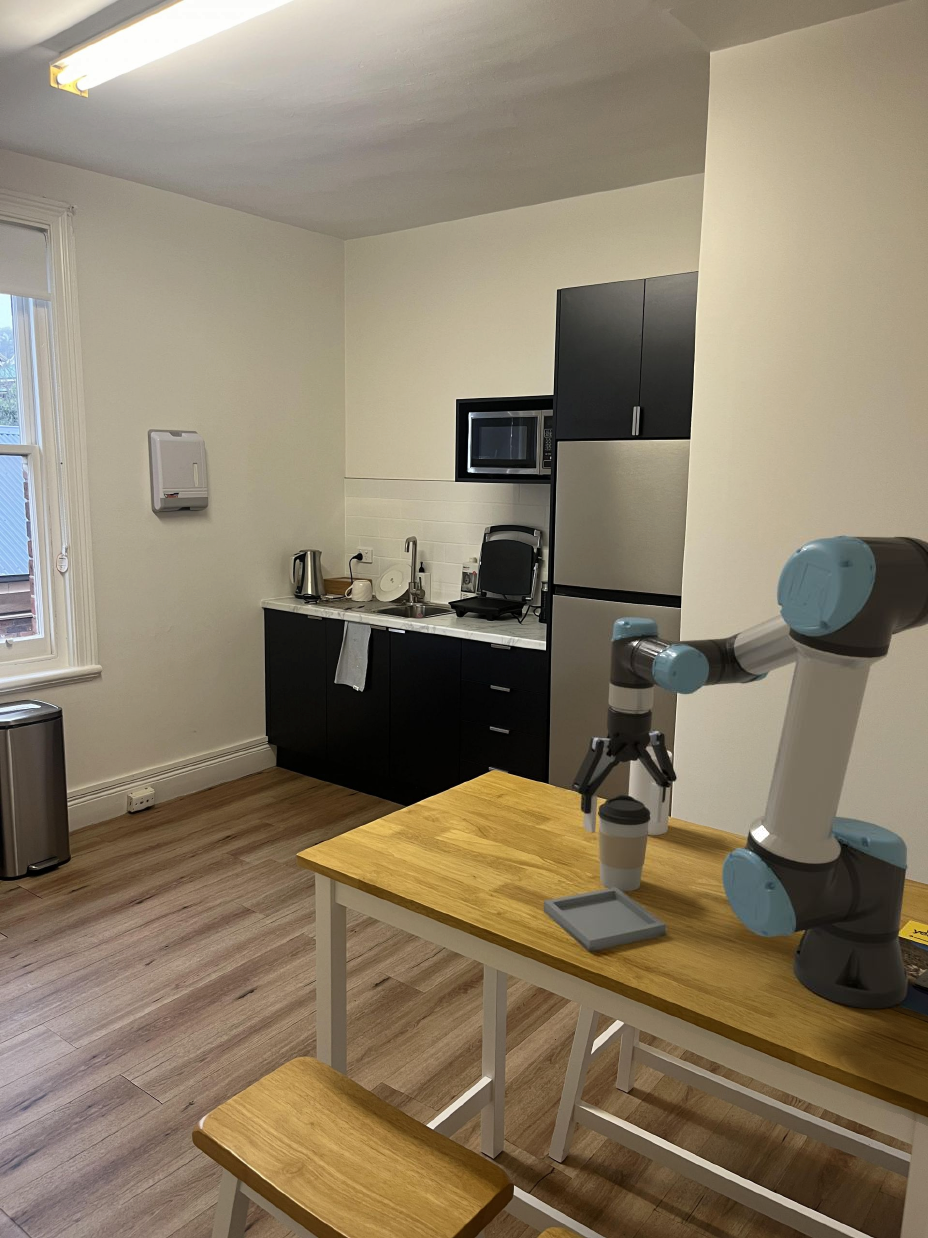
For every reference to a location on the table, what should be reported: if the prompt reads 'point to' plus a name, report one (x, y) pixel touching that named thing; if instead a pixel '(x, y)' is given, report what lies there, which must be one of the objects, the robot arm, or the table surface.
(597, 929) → the tray
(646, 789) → the cup
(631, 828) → the coffee cup
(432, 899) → the table surface
